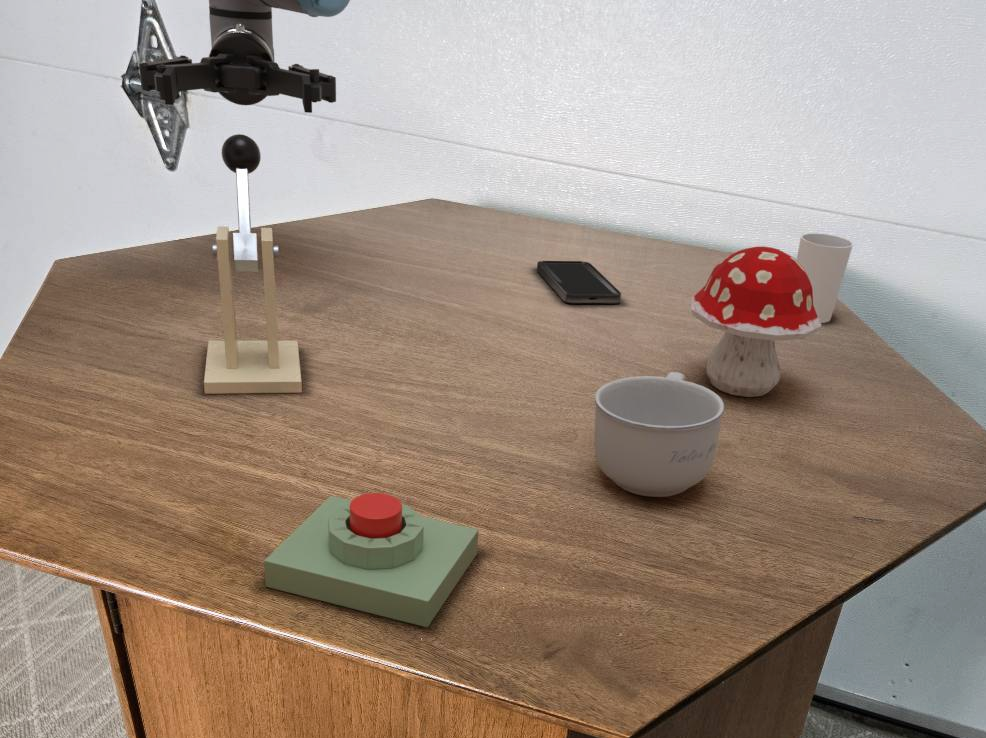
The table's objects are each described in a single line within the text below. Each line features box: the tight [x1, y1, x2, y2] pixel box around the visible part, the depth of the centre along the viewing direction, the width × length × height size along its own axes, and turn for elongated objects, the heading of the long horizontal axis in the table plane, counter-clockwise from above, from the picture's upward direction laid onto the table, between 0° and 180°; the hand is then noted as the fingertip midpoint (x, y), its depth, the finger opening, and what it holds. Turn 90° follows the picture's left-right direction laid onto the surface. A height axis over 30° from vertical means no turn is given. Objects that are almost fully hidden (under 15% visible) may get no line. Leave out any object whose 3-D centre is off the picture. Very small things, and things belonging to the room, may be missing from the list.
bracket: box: [203, 226, 303, 395], centre depth 95 cm, size 11×9×14 cm
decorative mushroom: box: [690, 246, 822, 398], centre depth 103 cm, size 14×14×15 cm
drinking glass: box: [796, 232, 854, 324], centre depth 129 cm, size 7×7×10 cm
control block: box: [263, 495, 479, 628], centre depth 70 cm, size 12×10×4 cm
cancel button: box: [350, 492, 403, 539], centre depth 68 cm, size 4×4×2 cm
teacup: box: [593, 371, 725, 498], centre depth 85 cm, size 14×11×8 cm
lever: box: [221, 133, 262, 273], centre depth 94 cm, size 13×4×4 cm
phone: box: [536, 260, 622, 305], centre depth 133 cm, size 8×1×15 cm
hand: (239, 94), depth 99 cm, fingers open, 13 cm apart
